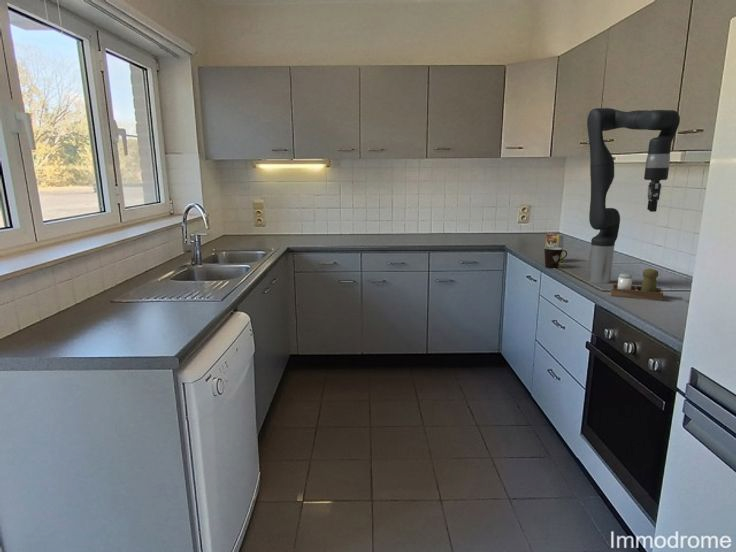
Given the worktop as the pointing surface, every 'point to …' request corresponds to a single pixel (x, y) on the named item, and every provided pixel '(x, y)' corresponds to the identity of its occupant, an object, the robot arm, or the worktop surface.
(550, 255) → the coffee mug
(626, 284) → the salt shaker
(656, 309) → the worktop surface
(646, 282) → the cork
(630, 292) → the spice caddy
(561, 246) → the candy box
